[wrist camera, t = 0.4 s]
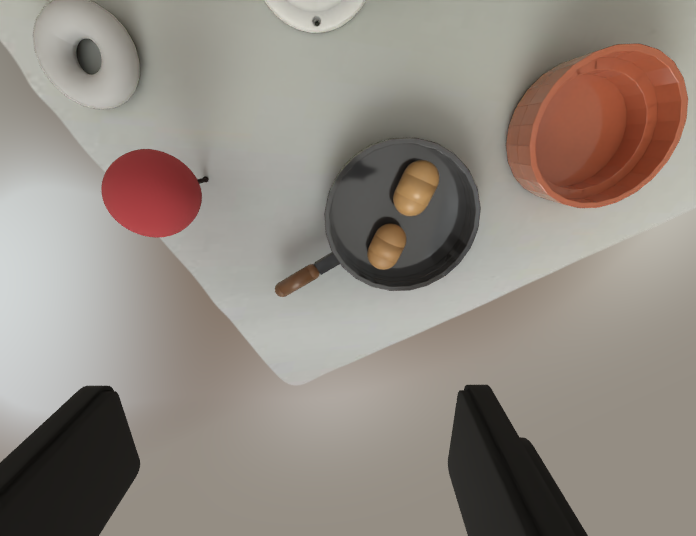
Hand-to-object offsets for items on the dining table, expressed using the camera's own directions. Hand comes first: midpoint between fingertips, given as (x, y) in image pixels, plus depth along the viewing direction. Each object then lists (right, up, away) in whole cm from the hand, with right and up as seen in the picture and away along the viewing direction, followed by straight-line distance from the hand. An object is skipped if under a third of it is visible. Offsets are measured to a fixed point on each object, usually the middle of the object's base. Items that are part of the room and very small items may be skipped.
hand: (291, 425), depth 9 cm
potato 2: (+9, +14, +31) cm, 36 cm away
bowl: (+28, +20, +29) cm, 45 cm away
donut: (-26, +27, +27) cm, 46 cm away
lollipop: (-16, +15, +32) cm, 39 cm away
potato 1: (+6, +8, +34) cm, 35 cm away
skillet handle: (-4, +4, +34) cm, 34 cm away
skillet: (+8, +11, +33) cm, 36 cm away
